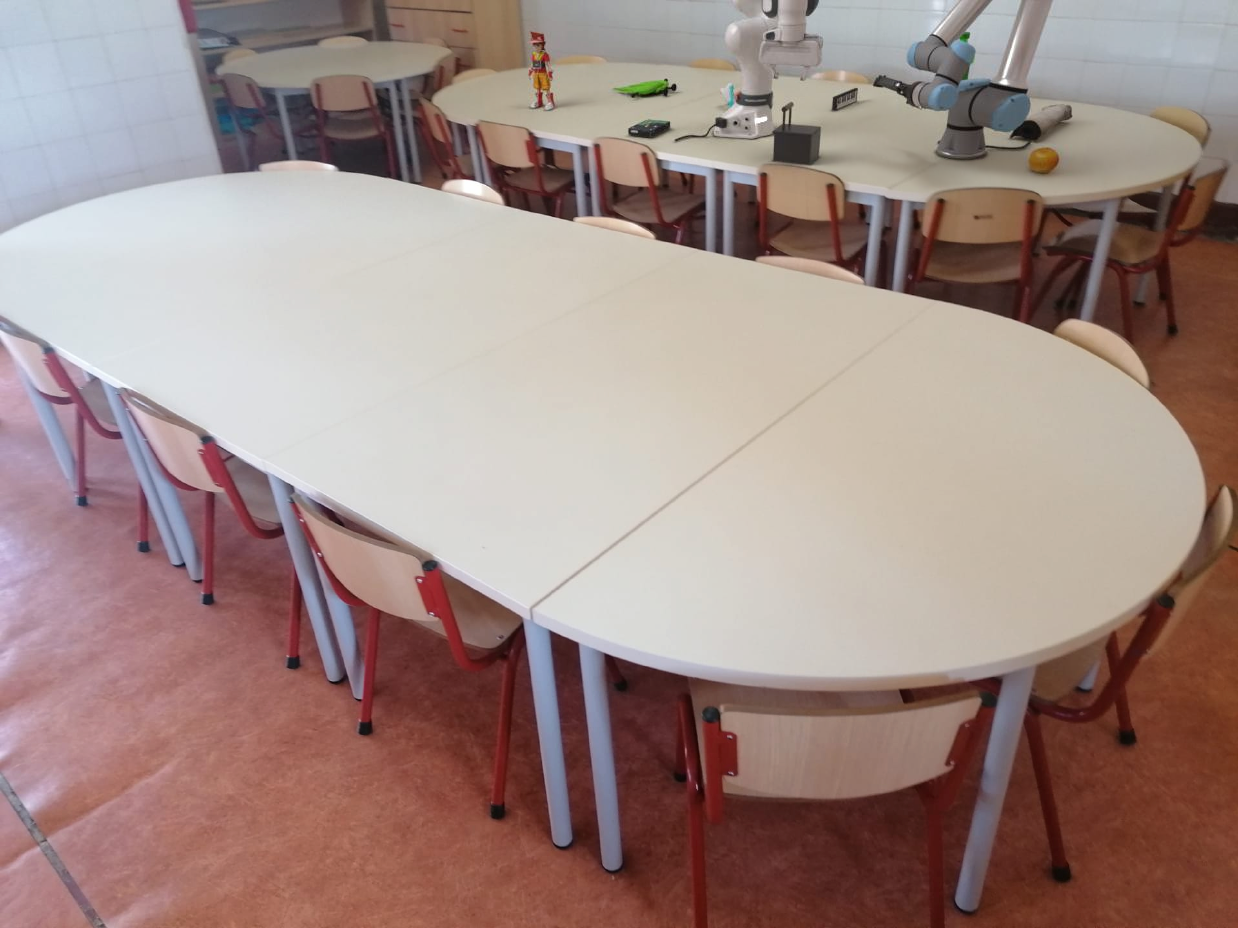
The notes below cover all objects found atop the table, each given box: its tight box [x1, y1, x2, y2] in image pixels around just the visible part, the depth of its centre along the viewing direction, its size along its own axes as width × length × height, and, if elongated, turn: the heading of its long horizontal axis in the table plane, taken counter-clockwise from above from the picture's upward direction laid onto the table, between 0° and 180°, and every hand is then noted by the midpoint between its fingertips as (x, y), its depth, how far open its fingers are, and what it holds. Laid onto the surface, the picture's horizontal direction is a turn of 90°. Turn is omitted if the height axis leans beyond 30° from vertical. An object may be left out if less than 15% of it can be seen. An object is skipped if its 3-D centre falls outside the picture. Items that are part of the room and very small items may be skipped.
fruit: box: [1027, 147, 1060, 174], centre depth 278 cm, size 8×8×8 cm
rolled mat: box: [1009, 103, 1073, 142], centre depth 315 cm, size 30×9×10 cm
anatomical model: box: [719, 82, 742, 108], centre depth 364 cm, size 15×10×10 cm
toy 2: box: [612, 78, 677, 99], centre depth 396 cm, size 28×5×30 cm
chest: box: [772, 129, 822, 166], centre depth 302 cm, size 13×10×9 cm
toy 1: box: [527, 31, 556, 111], centre depth 374 cm, size 12×9×30 cm
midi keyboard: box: [831, 87, 859, 111], centre depth 357 cm, size 18×1×5 cm, turn 138°
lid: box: [771, 101, 822, 137], centre depth 297 cm, size 14×10×8 cm
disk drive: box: [627, 118, 671, 138], centre depth 341 cm, size 10×3×15 cm
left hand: (789, 79), depth 292 cm, fingers open, 8 cm apart
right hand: (892, 91), depth 295 cm, fingers open, 13 cm apart
